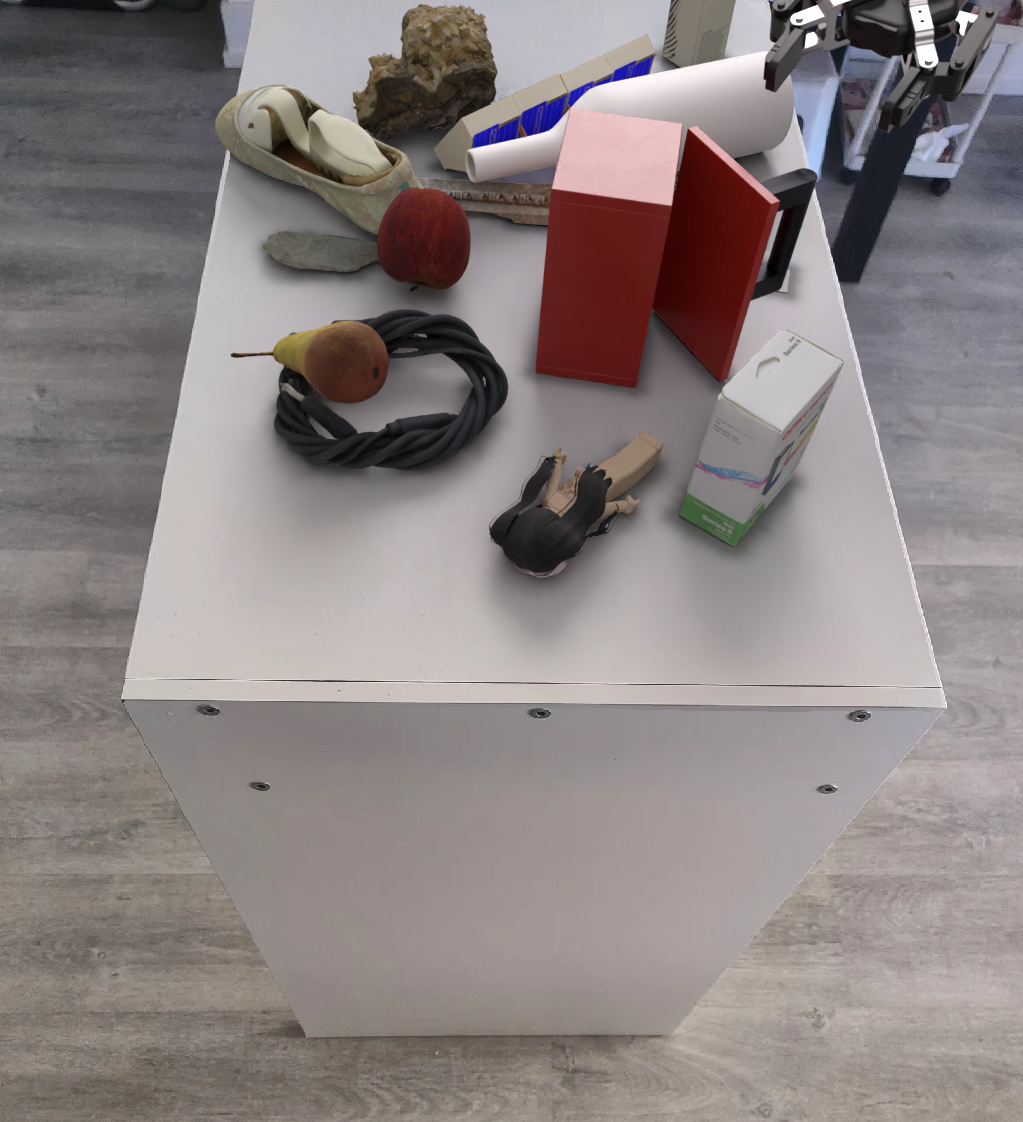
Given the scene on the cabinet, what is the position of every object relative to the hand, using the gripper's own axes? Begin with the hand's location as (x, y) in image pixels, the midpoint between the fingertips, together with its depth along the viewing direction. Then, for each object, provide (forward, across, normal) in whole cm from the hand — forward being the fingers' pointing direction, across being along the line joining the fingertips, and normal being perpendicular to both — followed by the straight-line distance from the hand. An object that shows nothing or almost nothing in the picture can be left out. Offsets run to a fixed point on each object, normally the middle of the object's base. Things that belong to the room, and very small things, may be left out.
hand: (826, 99), depth 69 cm
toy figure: (+30, -1, +11) cm, 32 cm away
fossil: (+6, -27, +16) cm, 32 cm away
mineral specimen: (-1, -40, +17) cm, 44 cm away
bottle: (-18, -13, +19) cm, 30 cm away
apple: (+18, -25, +13) cm, 33 cm away
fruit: (+32, -16, +2) cm, 35 cm away
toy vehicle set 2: (0, -5, +19) cm, 20 cm away
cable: (+31, -18, +10) cm, 37 cm away
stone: (+18, -35, +12) cm, 41 cm away
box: (-25, -26, +25) cm, 44 cm away
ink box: (+22, +7, +14) cm, 27 cm away
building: (-7, -31, +15) cm, 35 cm away
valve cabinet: (+15, -10, +14) cm, 23 cm away
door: (+8, -3, +16) cm, 19 cm away
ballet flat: (+12, -40, +13) cm, 44 cm away
